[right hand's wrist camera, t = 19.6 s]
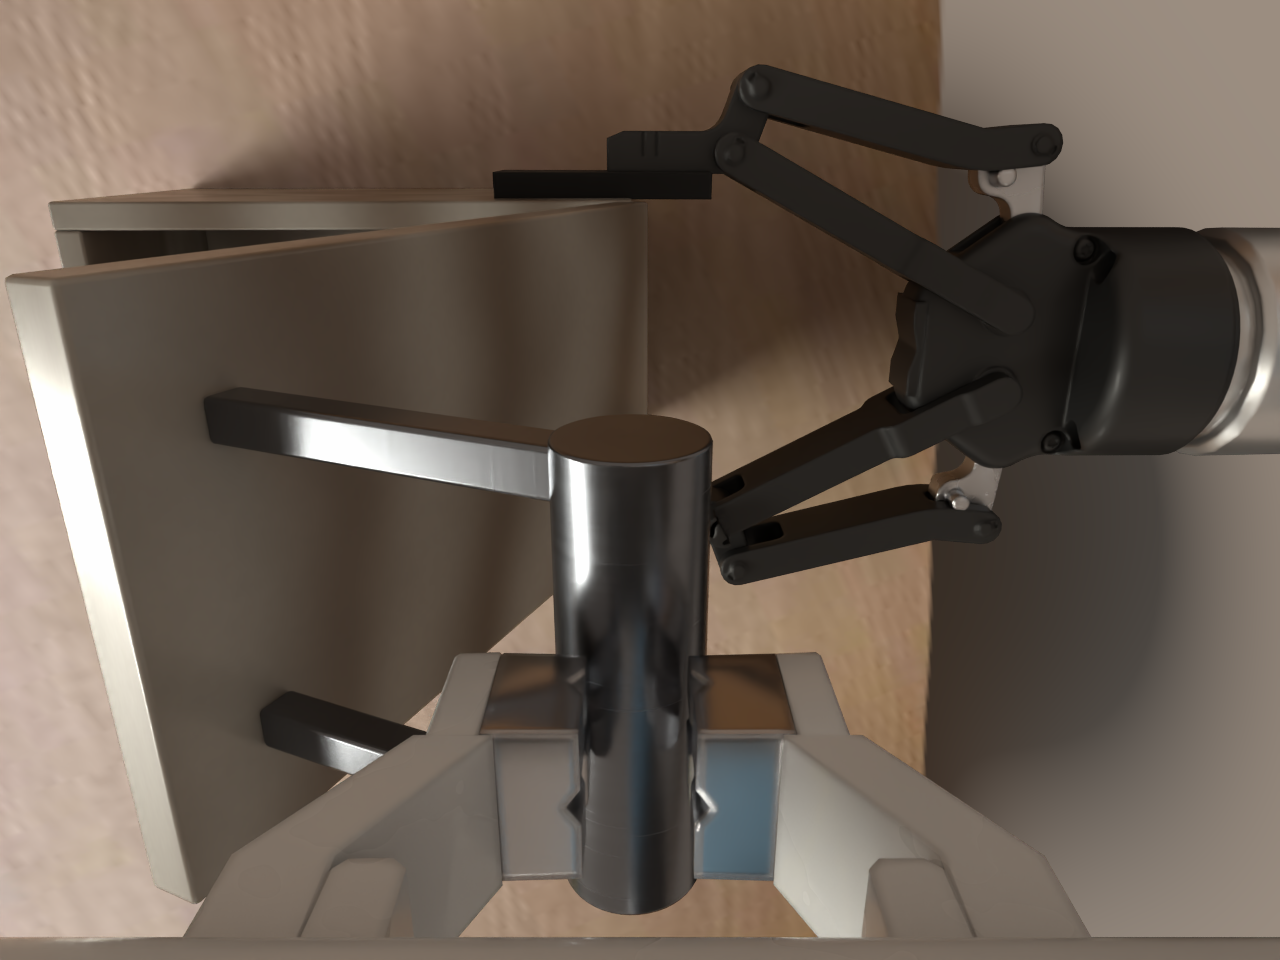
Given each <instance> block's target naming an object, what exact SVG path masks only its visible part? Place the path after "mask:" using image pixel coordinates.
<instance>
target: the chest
mask: <svg viewBox="0 0 1280 960" xmlns="http://www.w3.org/2000/svg"><path fill="white" fill-rule="evenodd" d="M619 201H623V202H633V201H632V199H630V198H499V199H494V188H338V189H181V190H171V191H161V192H150V193H139V194H129V195H118V196H107V197H97V198H86V199H75V200H65V201H54V202H50V203H48V206H49V211H50V215H51V220H52V224H53V228H54V229H55V230H57V231H56V232H55V238H56V242H57V247H58V251H59V255H60V260H61V264H62V268H69V267H77V266H85V265H94V264H102V263H110V262H119V261H127V260H135V259H144V258H152V257H160V256H169V255H177V254H185V253H194V252H202V251H210V250H219V249H227V248H235V247H244V246H252V245H260V244H269V243H277V242H285V241H294V240H302V239H310V238H319V237H327V236H335V235H344V234H352V233H361V232H369V231H377V230H386V229H394V228H402V227H411V226H419V225H427V224H436V223H444V222H452V221H461V220H469V219H477V218H486V217H494V216H502V215H511V214H519V213H527V212H536V211H544V210H552V209H561V208H569V207H577V206H586V205H594V204H602V203H611V202H619Z"/></svg>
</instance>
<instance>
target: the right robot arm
mask: <svg viewBox="0 0 1280 960" xmlns="http://www.w3.org/2000/svg"><path fill="white" fill-rule="evenodd" d="M687 696H688V709H689V718H688V720H687V721H686V778H687V795H688V804H689V805H690V806H691V810H690V837H691V849H692V860H693V872H694V879H727V880H763V881H774V886H775V887H776V888H777V889H778V890H779V891H780V893H781V894H782V895H783V896H784V897H785V899H786V900H787V901H788V902H789V903H790V904H791V906H792V907H793V908H794V909H795V910H796V912H797V913H798V914H799V915H800V916H801V917H802V919H803V920H804V921H805V922H806V923H807V925H808V926H809V927H810V928H811V929H812V930H813V932H814V933H815V934H816V935H817V936H818V937H459V935H460V934H461V933H462V932H463V931H464V930H465V928H466V927H467V926H468V925H469V924H470V923H471V921H472V920H473V919H474V918H475V917H476V916H477V914H478V913H479V912H480V911H481V910H482V909H483V907H484V906H485V905H486V904H487V903H488V902H489V900H490V899H491V898H492V897H493V896H494V895H495V893H496V892H497V891H498V890H499V889H500V888H501V886H502V881H513V880H548V879H582V874H583V863H584V851H585V840H586V806H587V805H588V803H589V787H590V762H591V743H590V722H589V721H588V719H587V714H588V702H589V667H588V655H573V654H522V653H504V654H501V653H500V652H497V653H460V654H458V655H457V656H456V657H455V658H454V660H453V663H452V666H451V668H450V671H449V674H448V676H447V679H446V682H445V684H444V687H443V690H442V692H441V695H440V698H439V701H438V703H437V706H436V709H435V711H434V714H433V717H432V719H431V722H430V725H429V728H428V730H427V733H426V735H413V736H411V737H410V738H408V739H407V740H405V741H403V742H402V743H400V744H399V745H397V746H396V747H394V748H393V749H391V750H390V751H388V752H387V753H385V754H384V755H382V756H381V757H379V758H378V759H376V760H375V761H373V762H371V763H370V764H368V765H367V766H365V767H364V768H362V769H361V770H359V771H358V772H356V773H355V774H353V775H352V776H350V777H349V778H347V779H346V780H344V781H343V782H341V783H340V784H338V785H336V786H335V787H333V788H332V789H330V790H329V791H327V792H326V793H324V794H323V795H321V796H320V797H318V798H317V799H315V800H314V801H312V802H311V803H309V804H308V805H306V806H305V807H303V808H301V809H300V810H298V811H297V812H295V813H294V814H292V815H291V816H289V817H288V818H286V819H285V820H283V821H282V822H280V823H279V824H277V825H276V826H274V827H273V828H271V829H269V830H268V831H266V832H265V833H263V834H262V835H260V836H259V837H257V838H256V839H254V840H253V841H251V842H250V843H248V844H247V845H245V846H244V847H242V848H241V849H239V850H238V851H236V852H234V853H233V854H231V856H230V858H229V860H228V861H227V863H226V865H225V866H224V868H223V870H222V871H221V873H220V875H219V877H218V878H217V880H216V882H215V883H214V885H213V887H212V888H211V890H210V892H209V894H208V895H207V897H206V899H205V900H204V902H203V904H202V905H201V907H200V909H199V911H198V912H197V914H196V916H195V917H194V919H193V921H192V922H191V924H190V926H189V928H188V929H187V931H186V933H185V934H184V936H183V937H0V960H1280V937H1091V936H1090V934H1089V932H1088V931H1087V929H1086V927H1085V925H1084V924H1083V922H1082V920H1081V918H1080V917H1079V915H1078V913H1077V912H1076V910H1075V908H1074V906H1073V905H1072V903H1071V901H1070V899H1069V898H1068V896H1067V894H1066V892H1065V891H1064V889H1063V887H1062V885H1061V884H1060V882H1059V880H1058V878H1057V877H1056V875H1055V873H1054V871H1053V870H1052V868H1051V866H1050V864H1049V863H1048V861H1047V859H1046V857H1045V856H1044V855H1042V854H1041V853H1039V852H1038V851H1037V850H1035V849H1033V848H1032V847H1030V846H1029V845H1027V844H1026V843H1024V842H1023V841H1021V840H1020V839H1018V838H1017V837H1015V836H1014V835H1012V834H1011V833H1009V832H1008V831H1006V830H1005V829H1003V828H1002V827H1000V826H999V825H997V824H996V823H994V822H993V821H991V820H990V819H988V818H987V817H985V816H984V815H982V814H981V813H979V812H978V811H976V810H975V809H973V808H972V807H970V806H969V805H967V804H966V803H964V802H963V801H961V800H960V799H958V798H957V797H955V796H954V795H952V794H951V793H949V792H948V791H946V790H944V789H943V788H941V787H940V786H939V785H937V784H935V783H934V782H932V781H931V780H929V779H928V778H926V777H925V776H923V775H922V774H920V773H919V772H917V771H916V770H914V769H913V768H911V767H910V766H908V765H907V764H905V763H904V762H902V761H901V760H899V759H898V758H896V757H895V756H893V755H892V754H890V753H889V752H887V751H886V750H884V749H883V748H881V747H880V746H878V745H877V744H875V743H874V742H872V741H871V740H869V739H868V738H866V737H865V736H863V735H850V734H849V731H848V728H847V725H846V723H845V720H844V717H843V715H842V712H841V709H840V706H839V704H838V701H837V698H836V696H835V693H834V690H833V687H832V685H831V682H830V679H829V677H828V674H827V671H826V668H825V666H824V663H823V660H822V658H821V656H820V655H819V654H818V653H816V652H807V653H782V654H741V655H700V656H688V669H687Z"/></svg>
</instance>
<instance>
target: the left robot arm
mask: <svg viewBox="0 0 1280 960" xmlns="http://www.w3.org/2000/svg"><path fill="white" fill-rule="evenodd" d="M767 119H770V120H774V121H777V122H781V123H784V124H788V125H792V126H795V127H799V128H802V129H806V130H809V131H813V132H816V133H820V134H823V135H827V136H830V137H834V138H837V139H841V140H844V141H848V142H851V143H855V144H859V145H862V146H866V147H869V148H873V149H876V150H880V151H883V152H887V153H890V154H894V155H897V156H901V157H904V158H908V159H911V160H915V161H919V162H922V163H926V164H929V165H933V166H938V167H943V168H952V169H964V170H968V183H969V185H970V187H971V189H972V190H973V191H974V192H976V193H978V194H982V195H987V196H990V197H992V198H994V200H995V201H996V202H997V203H998V206H999V209H1000V215H999V216H997V217H995V218H994V219H992V220H991V221H989V222H988V223H987V224H985V225H984V226H982V227H981V228H979V229H978V230H976V231H975V232H973V233H972V234H971V235H969V236H968V237H966V238H965V239H963V240H962V241H960V242H959V243H957V244H956V245H954V246H953V247H952V248H950V249H949V250H947V251H945V250H944V249H942V248H940V247H939V246H937V245H935V244H933V243H931V242H929V241H928V240H926V239H924V238H921V237H919V236H918V235H916V234H914V233H912V232H911V231H909V230H907V229H905V228H904V227H902V226H900V225H899V224H897V223H895V222H894V221H892V220H890V219H888V218H887V217H885V216H883V215H882V214H880V213H878V212H877V211H875V210H873V209H871V208H870V207H868V206H866V205H865V204H863V203H861V202H860V201H858V200H856V199H855V198H853V197H851V196H849V195H848V194H846V193H844V192H843V191H841V190H839V189H838V188H836V187H834V186H832V185H831V184H829V183H827V182H826V181H824V180H822V179H821V178H819V177H817V176H816V175H814V174H812V173H810V172H809V171H807V170H805V169H804V168H802V167H800V166H799V165H797V164H795V163H793V162H792V161H790V160H788V159H787V158H785V157H783V156H782V155H780V154H778V153H776V152H775V151H773V150H771V149H770V148H768V147H766V146H765V145H763V144H761V143H760V142H759V139H760V136H761V134H762V131H763V129H764V126H765V123H766V121H767ZM1062 145H1063V138H1062V134H1061V132H1060V130H1059V129H1058V128H1057V127H1055V126H1054V125H1052V124H1046V123H1041V124H1023V125H1008V126H998V127H989V128H982V127H978V126H975V125H971V124H968V123H965V122H961V121H957V120H954V119H951V118H947V117H944V116H940V115H937V114H934V113H930V112H927V111H923V110H920V109H916V108H913V107H909V106H906V105H902V104H899V103H896V102H892V101H889V100H885V99H882V98H878V97H875V96H871V95H868V94H865V93H861V92H858V91H854V90H851V89H847V88H844V87H840V86H837V85H834V84H830V83H827V82H823V81H820V80H816V79H813V78H809V77H806V76H802V75H799V74H796V73H792V72H789V71H785V70H782V69H778V68H775V67H771V66H768V65H759V64H758V65H755V66H753V67H750V68H748V69H747V70H745V71H744V72H742V73H740V74H739V75H738V76H737V77H736V78H735V79H734V81H733V83H732V85H731V89H730V94H729V96H728V99H727V102H726V104H725V107H724V110H723V112H722V115H721V117H720V119H719V121H718V122H717V123H716V124H715V125H714V126H713V127H711V128H710V129H708V130H706V131H622V132H620V133H618V134H615V135H613V136H611V137H608V138H607V170H502V171H497V172H493V188H494V199H499V198H630V199H711V194H712V174H724V175H726V176H728V177H730V178H731V179H733V180H735V181H736V182H738V183H740V184H742V185H743V186H745V187H747V188H749V189H750V190H752V191H754V192H756V193H757V194H759V195H761V196H762V197H764V198H766V199H768V200H769V201H771V202H773V203H775V204H776V205H778V206H780V207H782V208H783V209H785V210H787V211H788V212H790V213H792V214H794V215H795V216H797V217H799V218H801V219H802V220H804V221H806V222H808V223H809V224H811V225H813V226H814V227H816V228H818V229H820V230H821V231H823V232H825V233H827V234H828V235H830V236H832V237H834V238H835V239H837V240H839V241H840V242H842V243H844V244H846V245H847V246H849V247H851V248H853V249H854V250H856V251H858V252H860V253H861V254H863V255H865V256H866V257H868V258H870V259H872V260H873V261H875V262H877V263H878V264H880V265H881V266H883V267H885V268H886V269H888V270H890V271H892V272H893V273H895V274H897V275H899V276H900V277H902V278H904V279H905V280H907V281H909V282H908V284H907V285H906V287H905V289H904V292H903V293H898V296H897V306H896V321H897V327H898V333H899V340H898V343H897V345H896V348H895V351H894V353H893V356H892V359H891V364H890V374H889V382H890V383H891V384H892V385H893V387H891V388H889V389H887V390H885V391H883V392H881V393H879V394H877V395H875V396H873V397H871V398H869V399H868V400H867V401H865V403H864V404H863V406H862V407H861V408H859V409H858V410H856V411H854V412H852V413H850V414H848V415H846V416H844V417H842V418H840V419H838V420H836V421H834V422H831V423H829V424H827V425H825V426H823V427H821V428H819V429H817V430H815V431H813V432H811V433H809V434H807V435H805V436H803V437H801V438H799V439H797V440H795V441H793V442H791V443H789V444H787V445H785V446H783V447H781V448H779V449H777V450H775V451H773V452H771V453H769V454H767V455H765V456H763V457H761V458H759V459H757V460H755V461H753V462H751V463H749V464H747V465H745V466H743V467H741V468H739V469H737V470H735V471H733V472H731V473H729V474H727V475H725V476H723V477H721V478H719V479H717V480H715V481H713V482H712V484H711V518H710V544H711V546H712V548H713V551H714V553H715V556H716V559H717V562H718V564H719V567H720V571H721V574H722V576H723V578H724V580H725V581H727V582H728V583H730V584H733V585H742V584H747V583H751V582H755V581H759V580H764V579H768V578H772V577H777V576H781V575H785V574H789V573H794V572H798V571H802V570H807V569H811V568H815V567H819V566H824V565H828V564H832V563H837V562H841V561H845V560H849V559H854V558H858V557H862V556H867V555H871V554H875V553H880V552H884V551H888V550H892V549H897V548H901V547H905V546H910V545H914V544H918V543H922V542H927V541H931V540H941V541H953V542H964V543H976V544H985V543H989V542H991V541H993V540H994V539H995V538H996V537H997V536H998V535H999V533H1000V531H1001V526H1002V524H1001V521H1000V519H999V517H998V516H997V515H996V514H995V513H994V512H993V511H992V506H993V502H994V499H995V495H996V491H997V487H998V483H999V479H1000V475H1001V472H1002V468H1005V467H1008V466H1011V465H1013V464H1015V463H1017V462H1019V461H1021V460H1023V459H1025V458H1028V457H1031V456H1035V455H1041V454H1050V455H1163V454H1169V453H1171V452H1174V451H1177V452H1178V453H1182V454H1188V455H1194V456H1196V455H1244V454H1280V228H1205V229H1202V230H1200V231H1197V232H1195V231H1193V230H1190V229H1187V228H1180V227H1065V226H1063V225H1060V224H1058V223H1057V222H1055V221H1054V220H1052V219H1051V218H1049V217H1048V216H1045V215H1043V214H1042V213H1043V197H1044V180H1045V165H1047V164H1050V163H1051V162H1052V161H1054V160H1055V159H1056V158H1057V157H1058V155H1059V154H1060V152H1061V149H1062ZM943 440H946V441H947V442H949V443H950V444H951V445H952V446H954V447H955V448H956V449H958V450H959V451H960V452H962V453H963V454H964V455H966V457H965V460H964V462H963V463H962V464H961V465H960V466H959V467H958V468H957V469H955V470H952V471H947V472H942V473H937V474H935V475H933V476H932V478H931V482H930V484H915V485H905V486H900V487H894V488H890V489H886V490H882V491H877V492H873V493H869V494H865V495H861V496H856V497H852V498H848V499H844V500H840V501H835V502H831V503H827V504H823V505H819V506H814V507H810V508H806V509H802V510H798V511H793V512H789V513H785V514H781V515H777V516H774V515H776V514H778V513H780V512H782V511H784V510H786V509H788V508H790V507H793V506H795V505H797V504H799V503H801V502H803V501H805V500H807V499H809V498H811V497H813V496H815V495H817V494H819V493H821V492H823V491H826V490H828V489H830V488H832V487H834V486H836V485H838V484H840V483H842V482H844V481H846V480H848V479H850V478H852V477H854V476H857V475H859V474H861V473H863V472H865V471H867V470H869V469H871V468H873V467H875V466H877V465H879V464H881V463H883V462H885V461H887V460H890V459H893V458H906V457H909V456H912V455H914V454H917V453H919V452H921V451H923V450H925V449H927V448H929V447H931V446H933V445H935V444H937V443H939V442H941V441H943Z"/></svg>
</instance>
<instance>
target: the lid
mask: <svg viewBox="0 0 1280 960" xmlns="http://www.w3.org/2000/svg"><path fill="white" fill-rule="evenodd" d="M5 285H6V289H7V293H8V297H9V301H10V306H11V310H12V314H13V318H14V322H15V326H16V330H17V334H18V338H19V342H20V346H21V350H22V354H23V358H24V362H25V366H26V370H27V374H28V378H29V382H30V386H31V390H32V394H33V398H34V402H35V406H36V410H37V414H38V418H39V422H40V426H41V430H42V434H43V438H44V443H45V447H46V451H47V455H48V459H49V463H50V467H51V471H52V475H53V479H54V483H55V487H56V491H57V495H58V499H59V503H60V507H61V511H62V515H63V519H64V523H65V527H66V531H67V535H68V539H69V543H70V547H71V551H72V555H73V559H74V563H75V567H76V571H77V576H78V580H79V584H80V588H81V592H82V596H83V600H84V604H85V608H86V612H87V616H88V620H89V624H90V628H91V632H92V636H93V640H94V644H95V648H96V652H97V656H98V660H99V664H100V668H101V672H102V676H103V680H104V684H105V688H106V692H107V696H108V700H109V704H110V709H111V713H112V717H113V721H114V725H115V729H116V733H117V737H118V741H119V745H120V749H121V753H122V757H123V761H124V765H125V769H126V773H127V777H128V781H129V785H130V789H131V793H132V797H133V801H134V805H135V809H136V813H137V817H138V821H139V825H140V829H141V833H142V837H143V841H144V846H145V850H146V854H147V858H148V862H149V866H150V870H151V874H152V878H153V882H154V884H155V886H156V887H157V888H159V889H162V890H164V891H166V892H168V893H170V894H173V895H175V896H177V897H179V898H181V899H184V900H186V901H188V902H190V903H192V904H197V903H199V902H201V901H202V900H203V899H204V898H205V897H207V895H208V894H209V892H210V890H211V888H212V887H213V885H214V883H215V882H216V880H217V878H218V877H219V875H220V873H221V871H222V870H223V868H224V866H225V865H226V863H227V861H228V860H229V858H230V856H231V854H233V853H234V852H236V851H238V850H239V849H241V848H242V847H244V846H245V845H247V844H248V843H250V842H251V841H253V840H254V839H256V838H257V837H259V836H260V835H262V834H263V833H265V832H266V831H268V830H269V829H271V828H273V827H274V826H276V825H277V824H279V823H280V822H282V821H283V820H285V819H286V818H288V817H289V816H291V815H292V814H294V813H295V812H297V811H298V810H300V809H301V808H303V807H305V806H306V805H308V804H309V803H311V802H312V801H314V800H315V799H317V798H318V797H320V796H321V795H323V794H324V793H326V792H327V791H328V790H329V789H330V788H332V787H333V786H334V785H335V784H336V783H337V782H338V781H340V780H341V779H342V778H343V777H344V776H345V775H347V774H349V775H353V774H355V773H356V772H358V771H359V770H361V769H362V768H364V767H365V766H367V765H368V764H370V763H371V762H373V761H375V760H376V759H378V758H379V757H381V756H382V755H384V754H385V753H387V752H388V751H390V750H391V749H393V748H394V747H396V746H397V745H399V744H400V743H402V742H403V741H405V740H407V739H408V738H410V737H411V736H413V735H426V733H427V732H425V731H422V730H419V729H415V728H412V727H409V726H406V725H404V724H405V723H406V722H407V721H408V720H410V719H411V718H412V717H413V716H414V715H415V714H416V713H418V712H419V711H420V710H421V709H422V708H423V707H425V706H426V705H427V704H428V703H429V702H430V701H431V700H433V699H434V698H435V697H436V696H437V695H438V694H439V693H441V692H442V690H443V687H444V684H445V682H446V679H447V676H448V674H449V671H450V668H451V666H452V663H453V660H454V658H455V657H456V656H457V655H458V654H460V653H486V652H488V651H489V650H490V649H491V648H492V647H493V646H494V645H496V644H497V643H498V642H499V641H500V640H501V639H503V638H504V637H505V636H506V635H507V634H508V633H509V632H511V631H512V630H513V629H514V628H515V627H516V626H517V625H519V624H520V623H521V622H522V621H523V620H524V619H525V618H527V617H528V616H529V615H530V614H531V613H532V612H533V611H535V610H536V609H537V608H538V607H539V606H540V605H542V604H543V603H544V602H545V601H546V600H547V599H548V598H550V597H551V596H552V595H553V598H554V623H555V648H556V654H573V655H588V667H589V702H588V714H587V719H588V721H589V722H590V743H591V762H590V787H589V803H588V805H587V806H586V840H585V851H584V863H583V874H582V879H568V881H569V883H570V885H571V886H572V888H573V889H574V890H575V892H576V893H577V894H578V895H579V896H580V897H581V898H582V899H584V900H585V901H586V902H588V903H589V904H591V905H593V906H595V907H597V908H599V909H601V910H604V911H608V912H611V913H616V914H623V915H641V914H648V913H652V912H656V911H659V910H662V909H665V908H667V907H669V906H671V905H673V904H674V903H676V902H677V901H679V900H680V899H681V898H683V897H684V896H685V895H686V894H687V893H688V892H689V890H690V889H691V888H692V886H693V885H694V883H695V881H696V880H697V879H694V872H693V860H692V849H691V837H690V810H691V806H690V805H689V804H688V795H687V778H686V721H687V720H688V718H689V709H688V696H687V669H688V656H700V655H707V622H708V588H709V553H710V518H711V484H712V449H713V440H712V438H711V435H710V434H709V432H708V431H706V430H705V429H704V428H702V427H700V426H698V425H696V424H694V423H691V422H687V421H684V420H680V419H676V418H671V417H665V416H657V415H647V353H648V205H647V203H645V202H623V201H619V202H611V203H602V204H594V205H586V206H577V207H569V208H561V209H552V210H544V211H536V212H527V213H519V214H511V215H502V216H494V217H486V218H477V219H469V220H461V221H452V222H444V223H436V224H427V225H419V226H411V227H402V228H394V229H386V230H377V231H369V232H361V233H352V234H344V235H335V236H327V237H319V238H310V239H302V240H294V241H285V242H277V243H269V244H260V245H252V246H244V247H235V248H227V249H219V250H210V251H202V252H194V253H185V254H177V255H169V256H160V257H152V258H144V259H135V260H127V261H119V262H110V263H102V264H94V265H85V266H77V267H69V268H60V269H52V270H44V271H35V272H27V273H19V274H12V275H10V276H8V277H6V278H5Z"/></svg>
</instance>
